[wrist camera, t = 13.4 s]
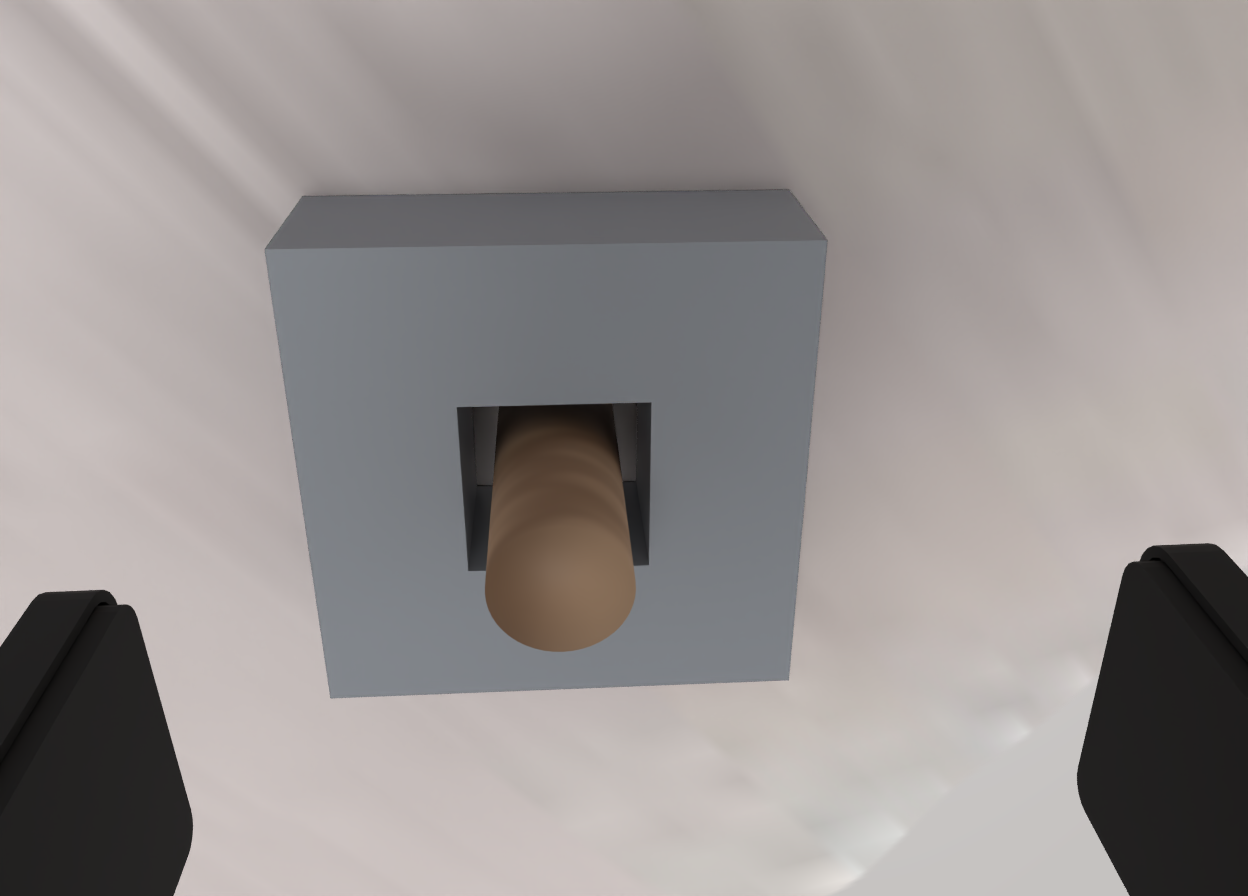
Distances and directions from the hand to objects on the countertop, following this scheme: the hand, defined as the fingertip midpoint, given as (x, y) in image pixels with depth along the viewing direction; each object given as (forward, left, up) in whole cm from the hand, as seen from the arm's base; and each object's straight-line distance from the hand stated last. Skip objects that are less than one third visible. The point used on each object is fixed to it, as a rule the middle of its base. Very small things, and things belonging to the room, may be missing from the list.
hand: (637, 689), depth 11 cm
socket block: (+1, +8, -24) cm, 25 cm away
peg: (+1, +8, -24) cm, 25 cm away
